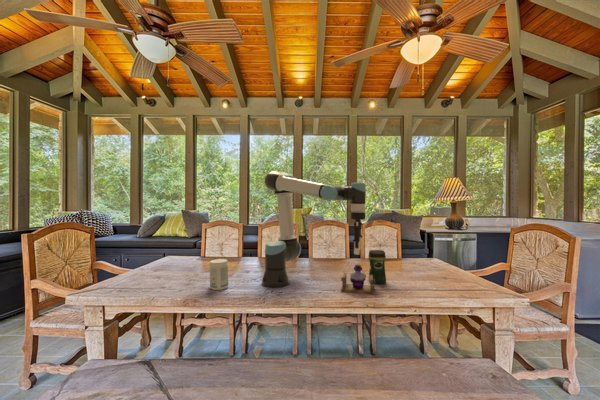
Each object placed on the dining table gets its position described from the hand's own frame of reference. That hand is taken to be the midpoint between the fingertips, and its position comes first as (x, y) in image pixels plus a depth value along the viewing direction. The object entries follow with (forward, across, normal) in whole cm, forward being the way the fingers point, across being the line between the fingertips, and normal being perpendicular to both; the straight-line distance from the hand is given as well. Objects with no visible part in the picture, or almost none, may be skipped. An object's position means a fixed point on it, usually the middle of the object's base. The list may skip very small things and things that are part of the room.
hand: (357, 251), depth 147 cm
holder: (+20, 0, -1) cm, 20 cm away
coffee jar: (+20, +16, -11) cm, 28 cm away
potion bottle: (+19, 0, 0) cm, 19 cm away
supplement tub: (+21, -16, +72) cm, 77 cm away
